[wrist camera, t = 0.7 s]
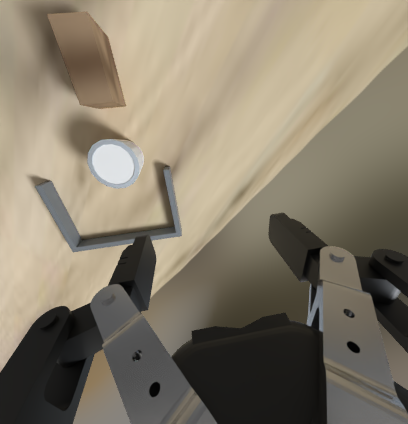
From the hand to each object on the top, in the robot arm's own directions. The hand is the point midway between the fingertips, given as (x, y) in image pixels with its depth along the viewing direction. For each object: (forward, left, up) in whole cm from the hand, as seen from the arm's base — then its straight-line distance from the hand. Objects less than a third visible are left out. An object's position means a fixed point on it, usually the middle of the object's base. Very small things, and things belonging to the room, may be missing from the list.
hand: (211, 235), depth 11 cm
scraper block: (-14, -11, -24) cm, 29 cm away
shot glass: (-2, -11, -24) cm, 26 cm away
